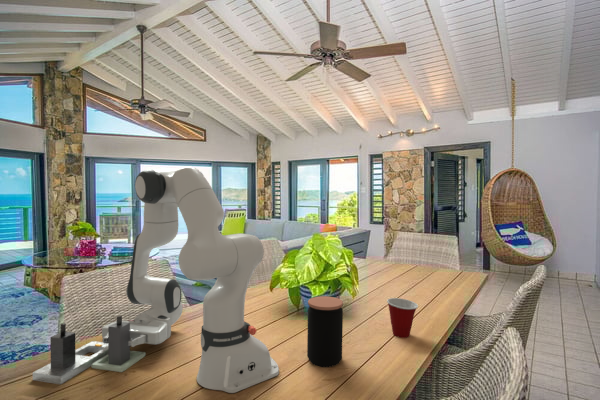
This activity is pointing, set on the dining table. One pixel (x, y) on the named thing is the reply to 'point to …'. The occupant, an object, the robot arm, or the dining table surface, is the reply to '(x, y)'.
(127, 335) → the plug
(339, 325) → the coffee jar
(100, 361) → the tray
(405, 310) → the plastic cup
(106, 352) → the pillar on holed base
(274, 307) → the dining table surface
